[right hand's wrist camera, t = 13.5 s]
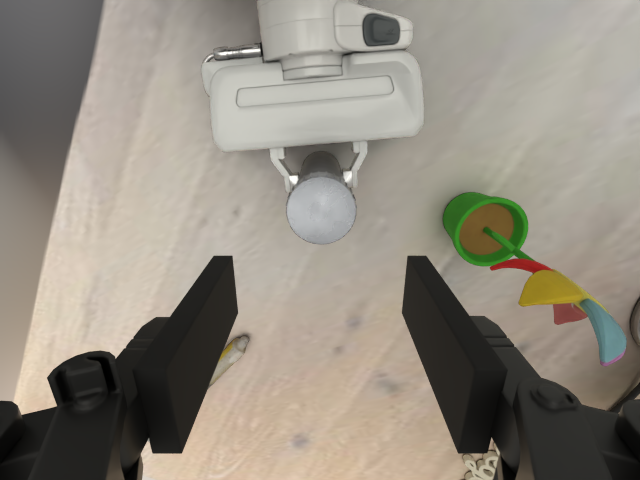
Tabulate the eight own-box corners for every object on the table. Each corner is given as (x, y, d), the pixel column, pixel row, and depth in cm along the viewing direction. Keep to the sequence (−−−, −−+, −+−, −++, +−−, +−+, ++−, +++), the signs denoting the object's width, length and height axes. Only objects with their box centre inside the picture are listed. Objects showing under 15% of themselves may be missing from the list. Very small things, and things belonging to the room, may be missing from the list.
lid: (348, 164, 26) (351, 169, 24) (359, 229, 28) (362, 238, 26) (281, 177, 26) (277, 183, 24) (295, 240, 28) (293, 250, 26)
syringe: (241, 328, 49) (237, 340, 47) (261, 343, 50) (258, 356, 47) (142, 419, 56) (133, 434, 53) (161, 431, 57) (153, 446, 54)
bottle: (336, 147, 40) (346, 173, 24) (342, 185, 42) (356, 233, 26) (298, 155, 41) (283, 185, 25) (306, 192, 42) (297, 244, 26)
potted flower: (419, 218, 43) (536, 346, 20) (465, 169, 41) (657, 249, 18) (471, 260, 45) (630, 422, 22) (517, 216, 43) (750, 343, 20)
